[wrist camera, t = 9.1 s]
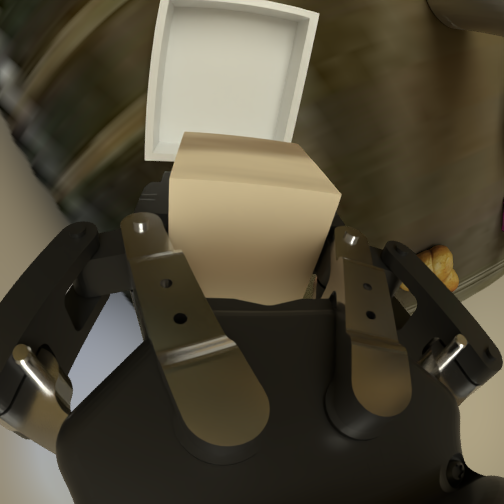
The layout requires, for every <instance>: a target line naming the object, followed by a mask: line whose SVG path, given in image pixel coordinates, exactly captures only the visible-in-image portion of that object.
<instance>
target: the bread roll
mask: <svg viewBox="0 0 504 504" xmlns="http://www.w3.org/2000/svg"><path fill="white" fill-rule="evenodd" d="M417 256H418V257H419V258H420V259H421V260H422V261H423V262H424V263H425V264H426V265H427V266H428V267H429V269H430V270H431V271H432V272H433V273H434V274H435V275H436V276H437V277H438V278H439V279H440V280H441V281H442V282H443V283H444V284H445V285H446V287H447V288H448V289H449V290H450V291H451V292H453V291H454V290H455V289H456V288H457V287H458V284H459V281H458V276H457V274H456V272H455V271H454V270H453V258H452V254H451V252H450V251H449V249H448V248H447V247H446V246H443V245H436V246H434V247H432V248H431V250H425V251H423V252H421V253H419V254H417ZM400 287H401V288H402V289H403V290H406V291H409V289H408V288H407V287H406V286H405V285H404V284H403V283H402V284H401V286H400Z"/></svg>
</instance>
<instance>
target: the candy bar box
mask: <svg viewBox="0 0 504 504" xmlns="http://www.w3.org/2000/svg"><path fill="white" fill-rule="evenodd" d="M502 231H503V232H504V204H503V221H502Z"/></svg>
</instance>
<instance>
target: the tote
mask: <svg viewBox="0 0 504 504" xmlns="http://www.w3.org/2000/svg"><path fill="white" fill-rule="evenodd" d="M318 18H319V13H316V12H312V11H309V10H305V9H301V8H297V7H293V6H289V5H285V4H280V3H275V2H270V1H265V0H160V5H159V11H158V16H157V22H156V28H155V34H154V41H153V48H152V56H151V65H150V74H149V84H148V96H147V111H146V131H145V161H175V158H176V155H177V152H178V149H179V146H180V143H181V140H182V137H183V134H184V132H200V133H214V134H225V135H235V136H245V137H253V138H261V139H269V140H276V141H282V142H289V143H291V141H292V136H293V132H294V127H295V123H296V119H297V114H298V110H299V105H300V101H301V96H302V92H303V87H304V83H305V78H306V74H307V69H308V64H309V60H310V55H311V51H312V46H313V41H314V37H315V32H316V27H317V22H318Z"/></svg>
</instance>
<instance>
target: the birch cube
mask: <svg viewBox="0 0 504 504" xmlns="http://www.w3.org/2000/svg"><path fill="white" fill-rule="evenodd" d="M340 198H341V194H340V192H339V191H338V190H337V189H336V187H335V186H334V185H333V184H332V183H331V181H330V180H329V179H328V178H327V177H326V176H325V174H324V173H323V172H322V171H321V170H320V169H319V167H318V166H317V165H316V164H315V163H314V162H313V160H312V159H311V158H310V157H309V156H308V155H307V154H306V153H305V152H304V150H303V149H302V148H301V147H300V146H299V145H298V144H295V143H289V142H282V141H276V140H269V139H261V138H253V137H245V136H235V135H225V134H214V133H200V132H184V134H183V137H182V140H181V143H180V146H179V149H178V152H177V155H176V158H175V162H174V165H173V168H172V171H171V175H170V178H169V239H170V242H171V244H172V246H173V249H174V250H178V249H181V250H182V251H183V253H184V255H185V257H186V259H187V261H188V263H189V265H190V268H191V270H192V272H193V274H194V276H195V278H196V280H197V282H198V284H199V286H200V288H201V290H202V292H203V293H204V295H205V297H206V298H234V299H238V300H243V301H248V302H253V303H258V304H262V305H276V304H280V303H285V302H289V301H293V300H298V299H302V298H303V296H304V293H305V291H306V289H307V286H308V284H309V281H310V279H311V276H312V274H313V271H314V269H315V266H316V263H317V261H318V258H319V256H320V253H321V250H322V248H323V245H324V242H325V240H326V237H327V234H328V232H329V229H330V226H331V223H332V221H333V218H334V215H335V212H336V209H337V207H338V204H339V201H340Z"/></svg>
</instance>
